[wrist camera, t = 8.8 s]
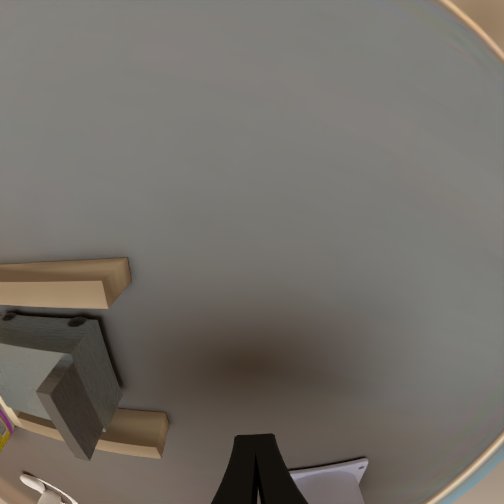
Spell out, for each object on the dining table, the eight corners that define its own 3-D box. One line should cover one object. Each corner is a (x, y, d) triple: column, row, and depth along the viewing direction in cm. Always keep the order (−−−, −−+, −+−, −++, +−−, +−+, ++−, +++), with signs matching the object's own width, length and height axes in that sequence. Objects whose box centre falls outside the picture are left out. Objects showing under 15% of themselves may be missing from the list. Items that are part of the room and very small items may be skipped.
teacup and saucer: (16, 464, 21) (5, 484, 17) (60, 481, 21) (50, 505, 17) (47, 496, 23) (39, 515, 20) (90, 511, 24) (83, 532, 20)
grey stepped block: (101, 311, 14) (43, 383, 8) (126, 390, 16) (94, 467, 10) (4, 306, 14) (-54, 354, 8) (32, 376, 16) (-9, 431, 10)
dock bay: (169, 424, 17) (161, 458, 14) (30, 401, 16) (14, 424, 14) (127, 257, 13) (101, 280, 11) (-24, 265, 13) (-52, 281, 10)
